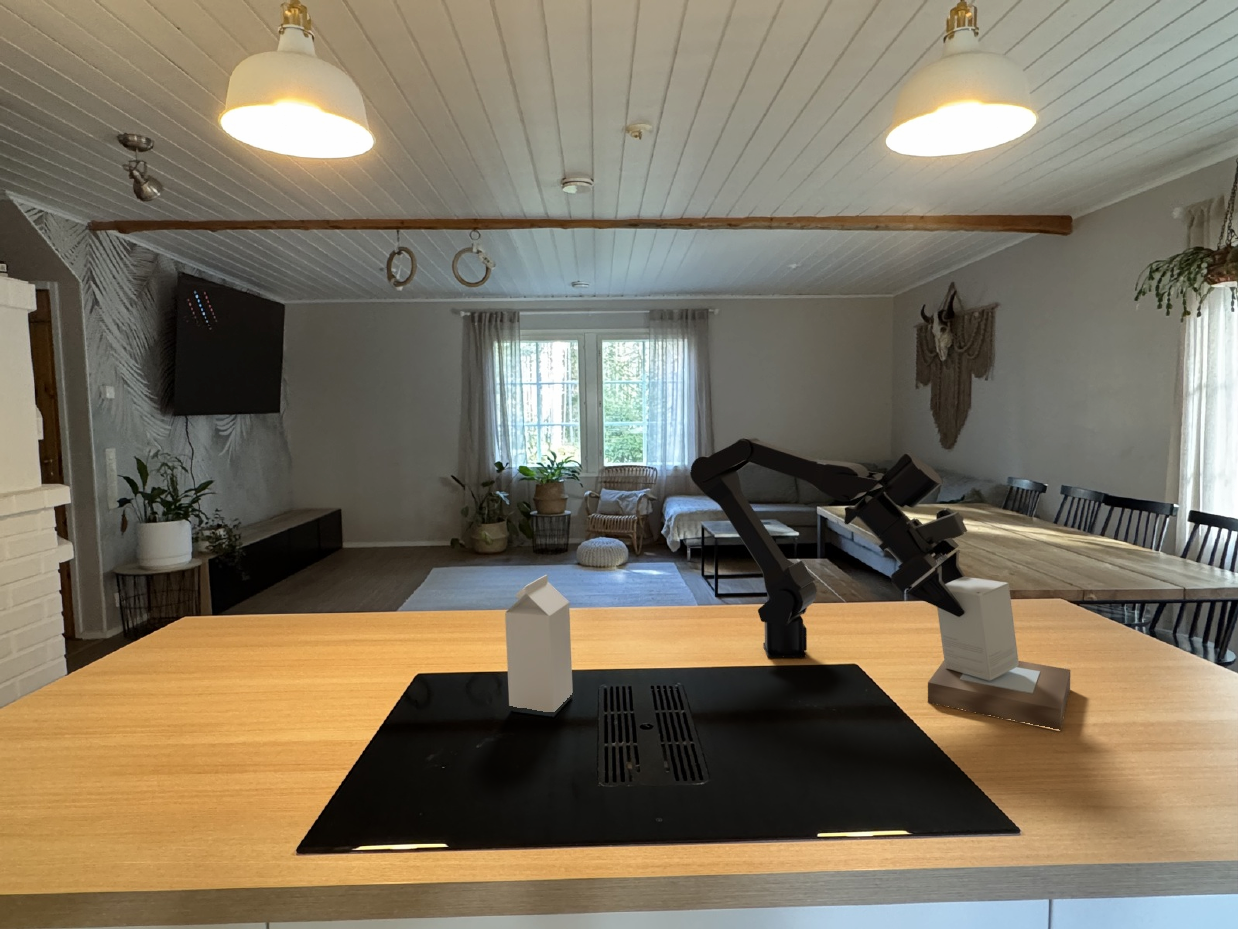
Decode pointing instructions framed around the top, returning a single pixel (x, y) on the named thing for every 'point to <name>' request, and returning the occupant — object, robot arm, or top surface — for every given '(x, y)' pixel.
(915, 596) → the robot arm
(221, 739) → the top surface
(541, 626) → the milk carton
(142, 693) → the top surface
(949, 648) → the supplement box
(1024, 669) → the plinth
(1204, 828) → the top surface
